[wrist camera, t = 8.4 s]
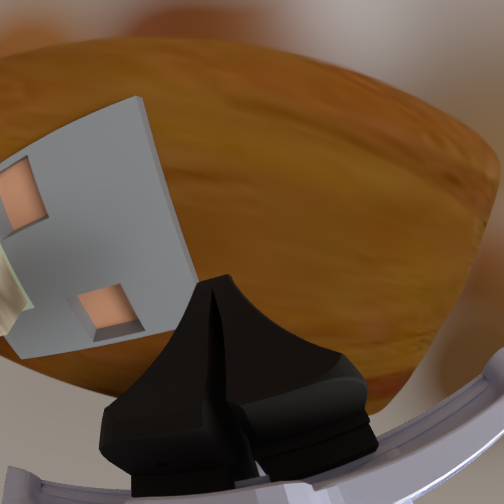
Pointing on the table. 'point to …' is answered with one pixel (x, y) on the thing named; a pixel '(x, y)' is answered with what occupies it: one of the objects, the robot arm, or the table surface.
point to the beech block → (9, 299)
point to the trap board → (92, 236)
